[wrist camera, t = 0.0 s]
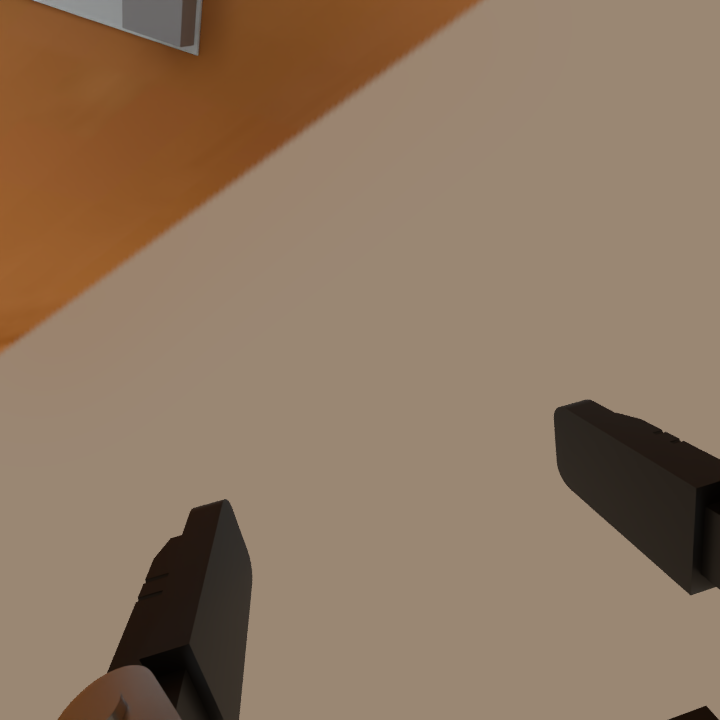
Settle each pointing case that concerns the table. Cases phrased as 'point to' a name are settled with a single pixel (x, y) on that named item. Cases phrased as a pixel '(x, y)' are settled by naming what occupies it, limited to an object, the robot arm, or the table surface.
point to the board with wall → (144, 18)
